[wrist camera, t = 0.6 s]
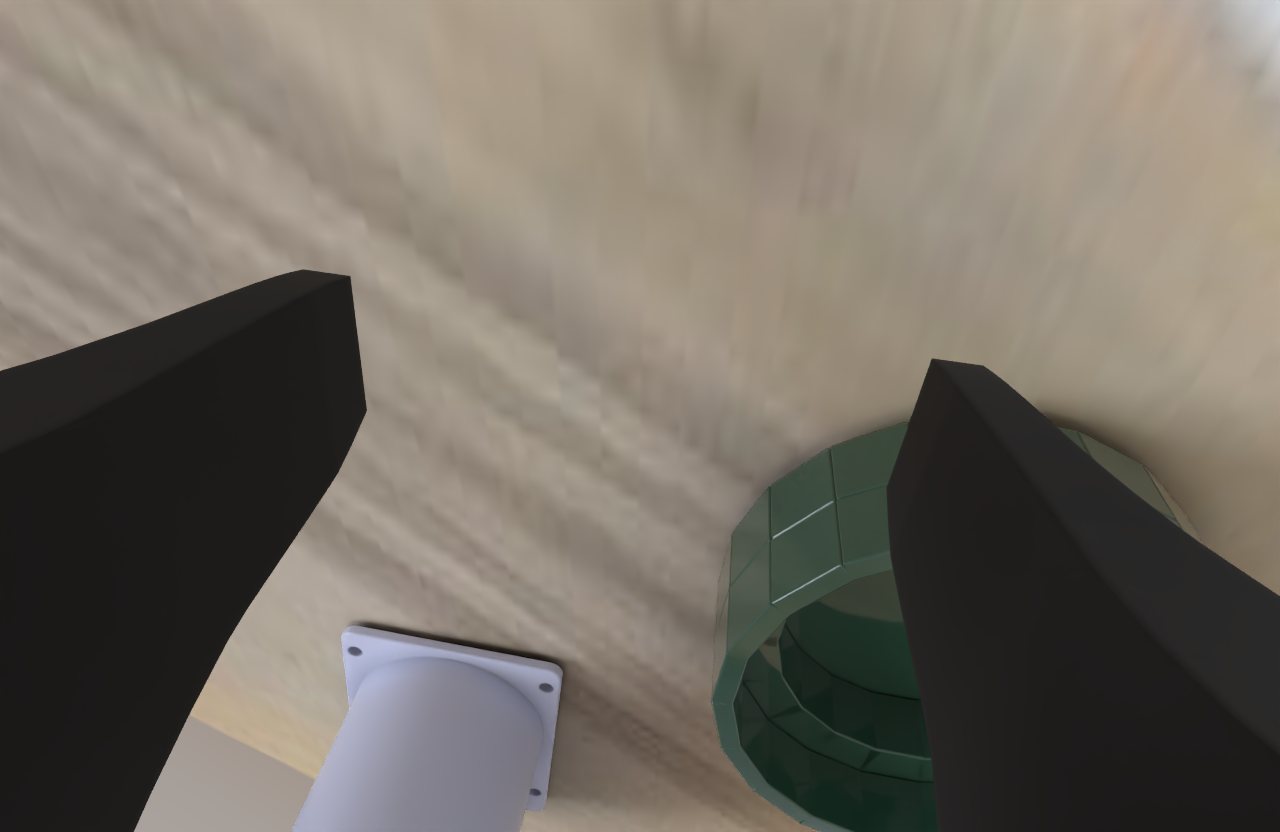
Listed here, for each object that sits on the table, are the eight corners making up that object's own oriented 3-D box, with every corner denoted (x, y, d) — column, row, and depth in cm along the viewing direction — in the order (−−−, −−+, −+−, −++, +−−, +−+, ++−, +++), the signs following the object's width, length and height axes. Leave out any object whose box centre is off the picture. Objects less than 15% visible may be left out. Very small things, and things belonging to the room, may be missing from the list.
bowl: (1060, 746, 29) (1109, 895, 25) (689, 675, 29) (676, 812, 25) (1285, 454, 21) (1409, 602, 17) (775, 361, 21) (778, 485, 17)
